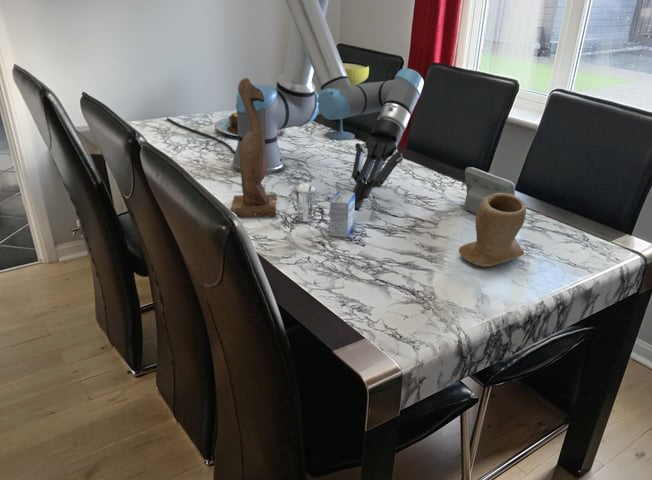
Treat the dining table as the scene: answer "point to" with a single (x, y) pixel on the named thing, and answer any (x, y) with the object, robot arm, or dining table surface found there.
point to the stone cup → (496, 231)
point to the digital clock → (483, 187)
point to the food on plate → (230, 125)
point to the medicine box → (342, 214)
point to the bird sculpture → (253, 161)
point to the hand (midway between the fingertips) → (354, 208)
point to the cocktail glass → (355, 76)
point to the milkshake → (305, 202)
